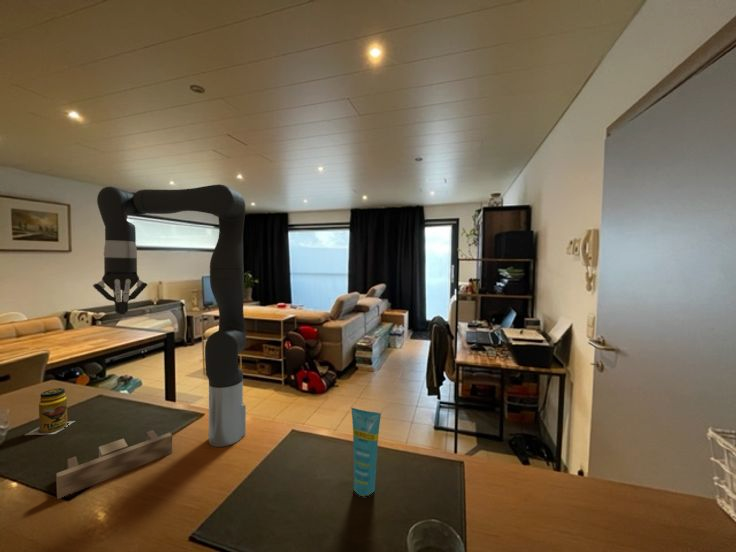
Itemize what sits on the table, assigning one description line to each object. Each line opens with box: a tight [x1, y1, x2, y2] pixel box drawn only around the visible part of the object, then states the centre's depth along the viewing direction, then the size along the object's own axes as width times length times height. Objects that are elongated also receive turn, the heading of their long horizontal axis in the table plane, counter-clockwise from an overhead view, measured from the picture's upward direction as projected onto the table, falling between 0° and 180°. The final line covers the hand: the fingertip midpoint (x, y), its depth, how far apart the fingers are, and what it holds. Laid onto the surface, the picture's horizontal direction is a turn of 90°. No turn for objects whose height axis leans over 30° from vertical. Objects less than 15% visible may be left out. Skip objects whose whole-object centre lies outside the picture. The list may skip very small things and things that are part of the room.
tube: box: [351, 407, 382, 496], centre depth 69 cm, size 7×5×19 cm, turn 72°
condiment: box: [24, 387, 76, 436], centre depth 93 cm, size 7×8×12 cm
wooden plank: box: [56, 429, 173, 500], centre depth 77 cm, size 22×9×5 cm, turn 140°
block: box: [98, 438, 129, 458], centre depth 77 cm, size 5×5×5 cm
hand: (121, 314), depth 89 cm, fingers closed
